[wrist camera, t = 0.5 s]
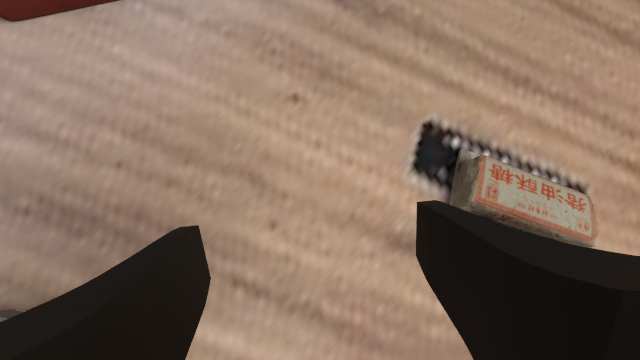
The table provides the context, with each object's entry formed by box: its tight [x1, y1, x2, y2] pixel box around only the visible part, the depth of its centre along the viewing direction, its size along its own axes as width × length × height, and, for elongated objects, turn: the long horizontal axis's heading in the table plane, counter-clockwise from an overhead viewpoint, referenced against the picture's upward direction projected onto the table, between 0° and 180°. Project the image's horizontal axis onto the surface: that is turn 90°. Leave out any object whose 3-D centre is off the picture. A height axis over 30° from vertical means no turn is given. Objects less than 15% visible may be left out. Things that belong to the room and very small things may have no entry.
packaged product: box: [449, 149, 599, 248], centre depth 40 cm, size 18×5×10 cm
